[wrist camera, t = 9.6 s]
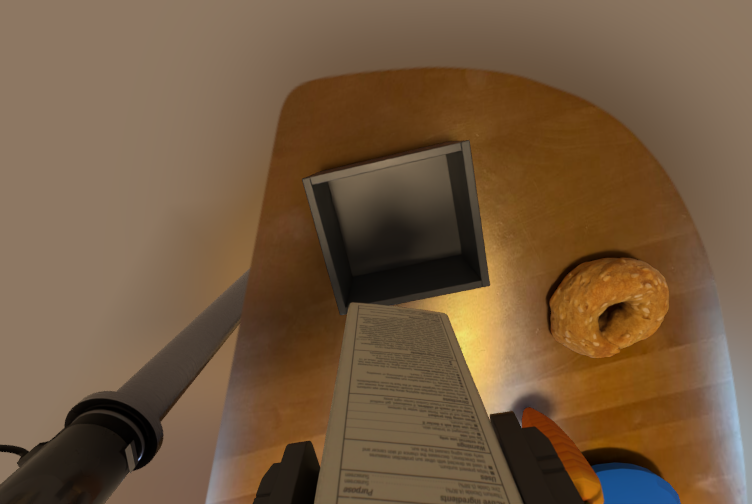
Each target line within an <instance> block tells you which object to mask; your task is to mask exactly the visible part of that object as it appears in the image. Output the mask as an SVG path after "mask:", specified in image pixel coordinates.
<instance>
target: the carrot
mask: <svg viewBox="0 0 752 504" xmlns="http://www.w3.org/2000/svg"><path fill="white" fill-rule="evenodd" d="M533 426H535V427H536V428H537V429H539V430H540V431H541V432H542V433H543V434H544V435H545V436H547V437H548V438H549V440H550V441H551V443H552V445H553V447H554V449H555V451H556V452H557V454H558V457H559V458H560V460H561V461H562V463H563V465H564V467H565V470H566V471H567V472H568V474H569V476H570V478H571V480H572V481H573V483H574V485H575V487H576V489H577V490H578V492H579V494H580V496H581V498H582V499H583V501H584V503H585V504H603V503H604V497H603V492H602V487H601V483H600V480H599V478H598V476H597V475H596V473H595V472H594V470H593V469H592V467H591V466H590V465H589V463H588V462H587V460H586V459H585V457H584V456H583V455H582V453H581V452H580V451H579V449H578V448H577V446H576V445H575V444H574V442H573V441H572V440H571V439H570V438H569V437H568V436H567V435H566V434H565V432H564V431H563V430H562V429H561V428H560V427H559V426H558V425H557V424H556V423H555V422H554V421H552V420H551V419H550V418H548V417H547V416H545V415H544V414H542V413H540V412H538V411H537V410H535V409H533V408H530V407H528V408H525V410H524V411H523V416H522V428H526V427H533Z"/></svg>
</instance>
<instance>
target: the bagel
mask: <svg viewBox="0 0 752 504" xmlns="http://www.w3.org/2000/svg"><path fill="white" fill-rule="evenodd" d="M549 304H550V308H551V316H550V321H551V333H552V335H553V337H554V339H556V340H557V341H558V342H559V343H561V344H563V345H564V346H566V347H568V348H569V349H571V350H573V351H575V352H577V353H579V354H582V355H587V356H590V357H592V358H603V357H610V356H612V355H614V354H617V353H619V352H620V349H622V348H625V347H626V346H627V347H628V346H630V345H632V344H633V343H635V342H637V341H639V340H643V339H646V338H647V337H649V336H651V335H652V334H653V333H654V332H655V331H656V330H657V329H658V328H659V326H660V325H661V323H662V321H663V320H664V318H663V317H664V316H665V314H666V313H667V311H668V308H669V290H668V285H667V283H666V280H665V278H664V277H663V276H662V275H661V274H660V272H659V271H658V270H656V269H654V268H653V267H651V266H650V265H649V264H648V263H646V262H644V261H642V260H635V259H633V258H602V259H598V260H594V261H590V262H584V263H582V264H580V265H578V266H577V267H576V268H575V269H574V270H572V271H571V272H569V273H568V274H567V275H566V276H565V278H564V279H563V281H562V282H561V284H560V285H559V286H558V288H557V290H556V291H555V292H554V294H553V295H552V297H551V299H550V302H549ZM613 304H614V305H613ZM608 306H609V307H608Z"/></svg>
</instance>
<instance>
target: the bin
mask: <svg viewBox="0 0 752 504" xmlns="http://www.w3.org/2000/svg"><path fill="white" fill-rule="evenodd" d="M302 181H303V185H304V188H305V192H306V195H307V199H308V202H309V206H310V209H311V213H312V217H313V220H314V224H315V227H316V231H317V234H318V238H319V242H320V245H321V249H322V252H323V256H324V259H325V263H326V267H327V270H328V274H329V277H330V281H331V284H332V288H333V291H334V295H335V299H336V302H337V306H338V309H339V313H340V315H344V314H347V313H348V308H349V305H350V303H352V302H354V303H364V304H377V305H386V306H390V305H395V304H400V303H405V302H410V301H415V300H420V299H425V298H430V297H435V296H440V295H446V294H451V293H456V292H461V291H466V290H471V289H476V288H481V287H486V286H490V282H489V275H488V268H487V261H486V253H485V246H484V239H483V232H482V225H481V218H480V211H479V204H478V197H477V190H476V183H475V176H474V169H473V162H472V155H471V148H470V141H469V140H465V141H450V142H445V143H441V144H436V145H432V146H428V147H423V148H419V149H415V150H410V151H406V152H402V153H398V154H393V155H389V156H385V157H380V158H376V159H372V160H367V161H363V162H359V163H355V164H350V165H346V166H342V167H337V168H333V169H329V170H324V171H320V172H318V173H315V174H313V175H310V176H308V177H306V178H303V179H302Z"/></svg>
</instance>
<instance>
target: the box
mask: <svg viewBox="0 0 752 504" xmlns="http://www.w3.org/2000/svg"><path fill="white" fill-rule="evenodd" d="M314 504H524V503H523V501H522V498H521V496H520V493H519V491H518V489H517V486H516V484H515V481H514V479H513V476H512V474H511V471H510V469H509V466H508V464H507V462H506V459H505V457H504V454H503V452H502V449H501V447H500V444H499V442H498V439H497V437H496V434H495V432H494V429H493V427H492V424H491V422H490V419H489V417H488V415H487V412H486V410H485V407H484V405H483V402H482V400H481V397H480V395H479V393H478V390H477V388H476V385H475V383H474V381H473V378H472V376H471V373H470V371H469V368H468V366H467V364H466V361H465V359H464V356H463V353H462V351H461V348H460V346H459V343H458V341H457V338H456V336H455V333H454V331H453V328H452V326H451V323H450V321H449V318H448V316H447V315H446V314H445V313H440V312H433V311H428V310H420V309H413V308H403V307H394V306H386V305H377V304H364V303H354V302H352V303H350V305H349V308H348V313H347V319H346V324H345V331H344V337H343V343H342V349H341V355H340V361H339V367H338V372H337V377H336V383H335V389H334V394H333V400H332V405H331V411H330V416H329V422H328V428H327V433H326V439H325V445H324V450H323V456H322V462H321V467H320V473H319V478H318V484H317V490H316V495H315V501H314Z"/></svg>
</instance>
